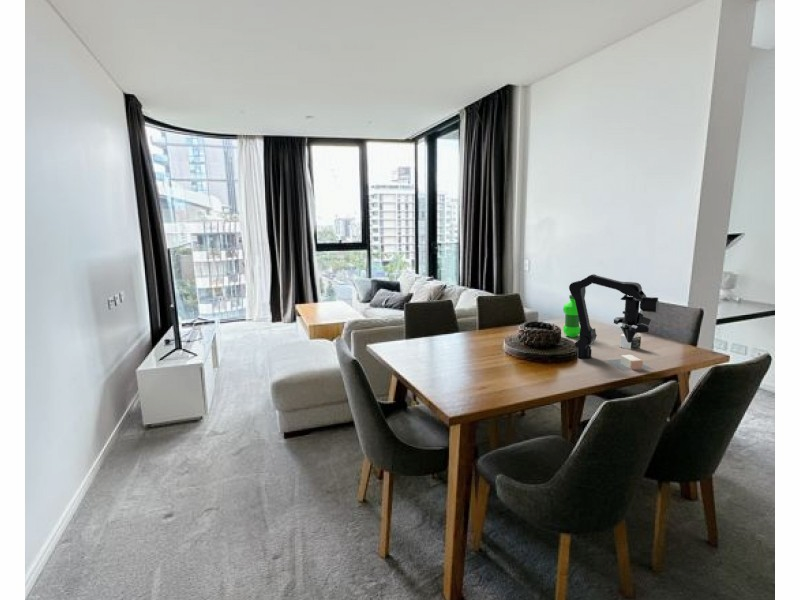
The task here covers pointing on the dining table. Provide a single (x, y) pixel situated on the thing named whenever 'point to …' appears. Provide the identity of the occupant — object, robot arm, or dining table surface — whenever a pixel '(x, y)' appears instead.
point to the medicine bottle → (634, 343)
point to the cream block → (631, 362)
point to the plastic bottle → (571, 319)
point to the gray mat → (622, 367)
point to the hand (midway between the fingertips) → (629, 342)
